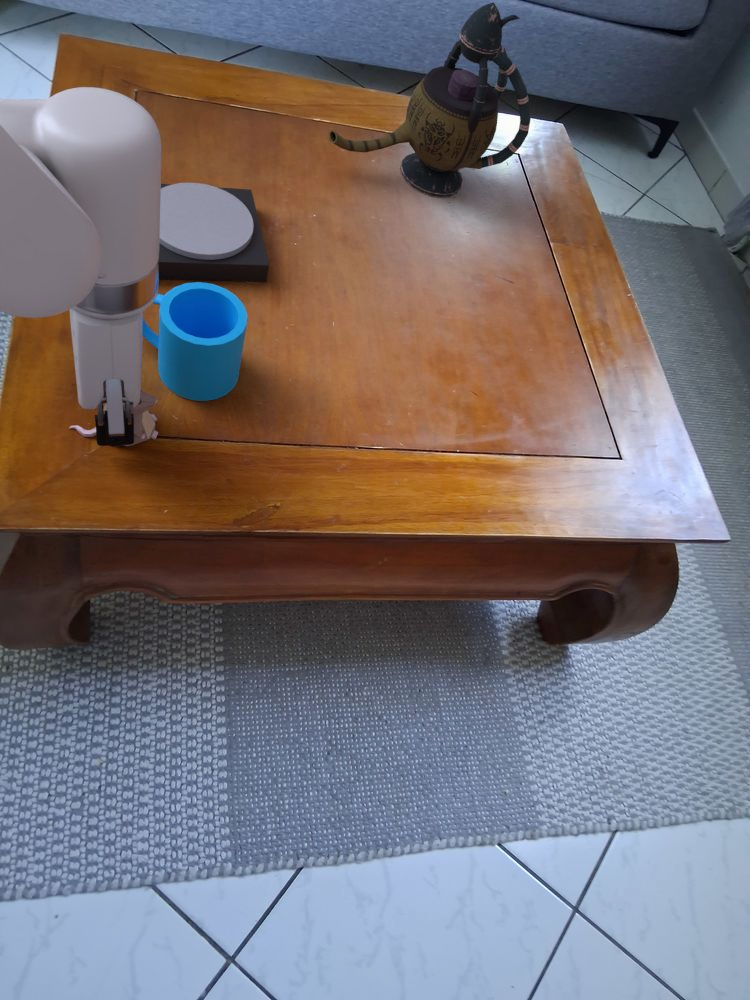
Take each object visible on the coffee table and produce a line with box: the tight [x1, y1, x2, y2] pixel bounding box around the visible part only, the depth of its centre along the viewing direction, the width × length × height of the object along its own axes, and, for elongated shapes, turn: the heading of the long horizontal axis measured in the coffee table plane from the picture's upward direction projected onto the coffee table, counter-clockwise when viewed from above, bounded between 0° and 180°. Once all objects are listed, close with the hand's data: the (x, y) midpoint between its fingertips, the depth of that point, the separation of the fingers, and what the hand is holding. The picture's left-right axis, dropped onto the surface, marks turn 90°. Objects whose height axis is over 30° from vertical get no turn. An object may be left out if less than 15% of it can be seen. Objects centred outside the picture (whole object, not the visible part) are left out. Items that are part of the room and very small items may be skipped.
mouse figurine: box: [68, 390, 159, 447], centre depth 70 cm, size 5×8×7 cm, turn 102°
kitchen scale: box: [159, 182, 270, 283], centre depth 87 cm, size 15×13×3 cm
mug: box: [142, 281, 248, 402], centre depth 75 cm, size 12×8×8 cm
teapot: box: [328, 1, 531, 199], centre depth 96 cm, size 12×25×23 cm, turn 107°
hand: (113, 416), depth 71 cm, fingers closed on mouse figurine, 4 cm apart
